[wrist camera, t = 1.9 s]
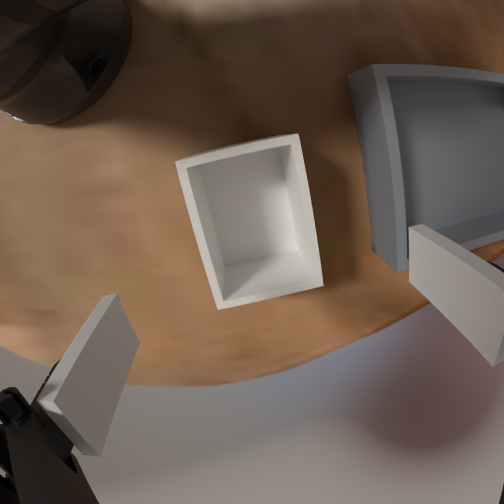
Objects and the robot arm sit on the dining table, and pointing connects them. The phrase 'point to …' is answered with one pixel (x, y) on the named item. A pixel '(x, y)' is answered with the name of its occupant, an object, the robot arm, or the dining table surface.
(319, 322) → the dining table surface
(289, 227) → the white crate
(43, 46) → the robot arm
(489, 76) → the slate crate
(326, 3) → the dining table surface
